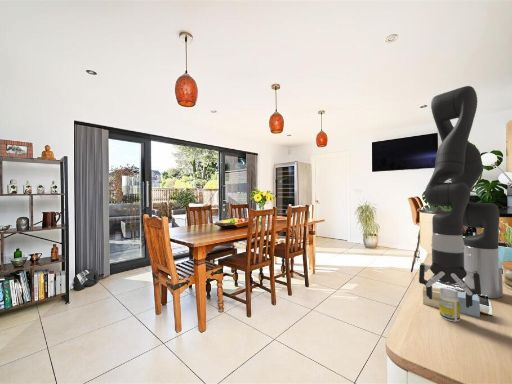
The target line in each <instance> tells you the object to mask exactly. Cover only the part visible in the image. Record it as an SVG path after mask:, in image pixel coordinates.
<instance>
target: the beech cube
mask: <svg viewBox="0 0 512 384" xmlns="http://www.w3.org/2000/svg"><path fill="white" fill-rule="evenodd" d="M441 288H442V287H439V286H438V287H437V286H433V285H432V300H431V299H429V297H427V295H426V286H425V285H424V284H423V288H422V304H423V305H424V306H429V307H433V308H438V309H440V307H439V295H440V294H441V293H440V289H441Z"/></svg>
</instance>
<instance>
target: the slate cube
mask: <svg viewBox="0 0 512 384" xmlns="http://www.w3.org/2000/svg"><path fill="white" fill-rule="evenodd" d="M456 291H457V293H458V298H459V300H460V314H463V315H467V316H472V317H476V318H480V317H481V313H480V312H481V306H480V305H481V304H480V302H481V301H480V296H478V295H473V296H472V303H473V305H472V306H469V308H467V307H466V292H465V291H464V292H462V291H458V290H456Z"/></svg>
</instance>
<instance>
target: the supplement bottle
mask: <svg viewBox="0 0 512 384" xmlns="http://www.w3.org/2000/svg"><path fill="white" fill-rule="evenodd" d="M440 288H441V289H440V293H441V294H440V295H439V307H440V308H439V316H440V317H441V318H442V319H444V320H446V321H449V322H454V323H455V322H460V320H461V313H460V300H459V298H458V293H457V291H458V290H456V289H454V288H451V287H440Z"/></svg>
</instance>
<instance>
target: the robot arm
mask: <svg viewBox="0 0 512 384" xmlns="http://www.w3.org/2000/svg"><path fill="white" fill-rule="evenodd" d="M430 103H431V104H430V106H431V107H430V110H431V113H432V114H431V115H432V118H433V120H434V122H435V125H436V129H437V132H438V135H439V137H440V141H441V143H440V145H439V146H438V149H437V152H436V155H435V162H434V169H433V172H432V174H431V177H430V179H429V181H428V184H427V185H426V187H425V190H424V199H425V201H426V202H427V204H429V205H431V206H439V207H440V206H441V207H442V206H445V207H446V206H448V207H452V208H451V209H450V211H449V212H440V213H436V214H433V216H432V235H431V245H430V246H431V265H429V264H425V263H424V262H421V263H420V265H419V272H418V273H419V274H418V283H419V284H421V285H423V286H424V285H425V286H426V295H427V297H429V299H431V300H432V286H433V285H434V284H436V283H437V282H438V281H439V282H441V283H448V284H451V285H456V284H458V285H459V287H460V288H461V289H462V290H463V291H464V293H466V307H467V308H469V306H472V305H473V303H472V296H473V295H476V294H477V295H481V294H484V295H487V296H488V298H487V299H499V298H500V297H504V296H503V295H504V293H503V291H504V289H503V285H504V284H503V270H502V269H501V268H500V265H499V260H500V258H499V256H500V255H499V254H500V253H499V238H500V237H499V236H500V235H499V234H500V233H499V229H500V210H499V207H498V205H497V204H495V203H493V202H471V201H470V198H471V191H472V189H473V187H474V185H475V184H477V181H478V180H479V179H480V177H481V176H482V175H483V171H484V166H483V165H484V164H483V160H482V155H481V151H480V150H479V149H478V147H477V146H476V145H474V144H473V143H471V142H470V141H469V138H470V135H471V134H470V133H471V130H472V127H473V123H474V119H475V116H476V112H477V109H478V108H477V107H478V94H477V91H476V89H475V88H474V87H472V86H471V85H465V86H461V87H459V88H456V89H452V90H450V91H447V92H443V93H440V94H438V95H435V96H433V97H432V99H431V102H430ZM455 119H456V120H457V122H456V123H455V125H454V126H453V123H452V122H451V120H455ZM448 180H450V181H451V182H450V181H449V182H446V181H448ZM463 227H468V228H477V229H483V230H482V232H481V233H479V234H475V235H467V236H465V237H463V235H464V233H463ZM428 270H430V271H431V272H432V274H433V275H432V276H431V277H430V278H428V280H427V279H425V273H427V272H428Z"/></svg>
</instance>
